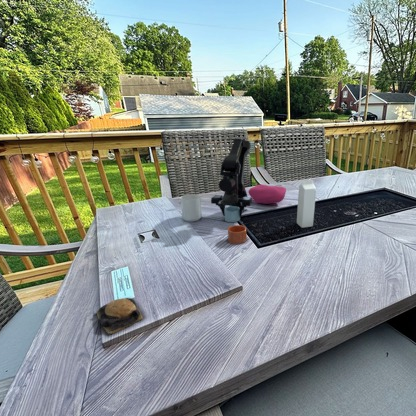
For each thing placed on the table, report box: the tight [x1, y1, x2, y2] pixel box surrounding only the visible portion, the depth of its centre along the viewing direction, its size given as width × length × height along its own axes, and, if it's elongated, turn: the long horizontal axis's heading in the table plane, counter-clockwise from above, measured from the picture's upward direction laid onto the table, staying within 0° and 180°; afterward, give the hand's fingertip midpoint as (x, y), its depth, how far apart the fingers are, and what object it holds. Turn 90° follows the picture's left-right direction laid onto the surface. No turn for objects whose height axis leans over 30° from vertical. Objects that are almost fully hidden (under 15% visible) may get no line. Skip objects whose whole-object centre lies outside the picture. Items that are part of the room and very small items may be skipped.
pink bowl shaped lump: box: [248, 184, 287, 205], centre depth 155 cm, size 23×19×10 cm
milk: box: [296, 179, 317, 229], centre depth 123 cm, size 6×6×22 cm
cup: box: [227, 224, 247, 245], centre depth 107 cm, size 7×7×5 cm
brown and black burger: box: [96, 297, 144, 336], centre depth 65 cm, size 11×8×4 cm
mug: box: [180, 193, 203, 223], centre depth 126 cm, size 12×9×11 cm
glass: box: [224, 206, 241, 223], centre depth 128 cm, size 7×7×6 cm
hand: (232, 216), depth 128 cm, fingers closed on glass, 7 cm apart
